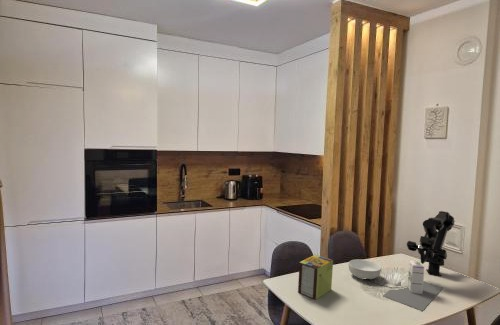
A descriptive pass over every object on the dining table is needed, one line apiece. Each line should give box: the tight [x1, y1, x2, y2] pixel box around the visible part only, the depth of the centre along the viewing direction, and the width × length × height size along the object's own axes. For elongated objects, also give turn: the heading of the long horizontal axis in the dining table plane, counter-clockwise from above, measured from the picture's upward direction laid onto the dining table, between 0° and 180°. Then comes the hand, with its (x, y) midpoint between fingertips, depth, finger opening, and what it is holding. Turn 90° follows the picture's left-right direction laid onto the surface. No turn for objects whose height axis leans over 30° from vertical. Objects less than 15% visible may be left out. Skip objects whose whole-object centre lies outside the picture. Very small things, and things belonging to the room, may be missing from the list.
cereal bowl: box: [348, 258, 382, 281], centre depth 179 cm, size 17×17×7 cm
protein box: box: [297, 254, 334, 301], centre depth 160 cm, size 10×15×16 cm
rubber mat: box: [382, 280, 444, 312], centre depth 164 cm, size 34×18×1 cm, turn 136°
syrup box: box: [408, 260, 425, 294], centre depth 164 cm, size 6×6×14 cm
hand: (421, 263), depth 169 cm, fingers closed
